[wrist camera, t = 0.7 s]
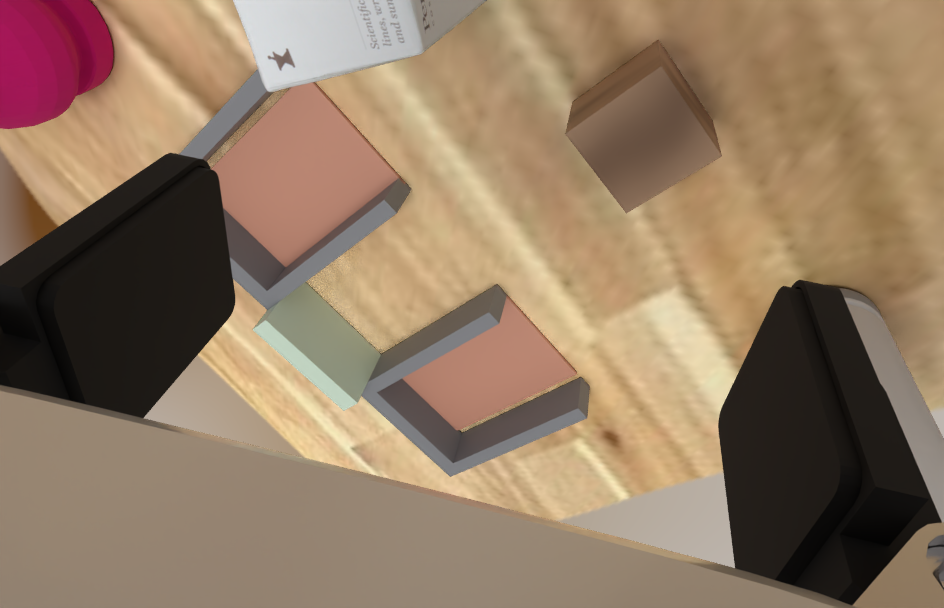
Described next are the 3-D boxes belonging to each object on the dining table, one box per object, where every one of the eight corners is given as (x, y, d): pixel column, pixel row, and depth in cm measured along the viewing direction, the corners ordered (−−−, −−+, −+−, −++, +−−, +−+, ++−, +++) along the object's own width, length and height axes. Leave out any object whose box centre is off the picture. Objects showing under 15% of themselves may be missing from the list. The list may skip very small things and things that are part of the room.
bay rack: (589, 386, 45) (585, 441, 41) (457, 446, 51) (443, 499, 47) (285, 50, 35) (241, 78, 31) (169, 174, 41) (119, 211, 37)
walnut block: (712, 120, 33) (721, 156, 30) (627, 174, 36) (626, 213, 32) (658, 38, 31) (661, 66, 28) (572, 101, 34) (565, 133, 30)
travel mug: (766, 281, 38) (863, 615, 22) (894, 287, 36) (1098, 646, 20) (748, 365, 41) (820, 703, 25) (864, 373, 40) (1017, 735, 24)
